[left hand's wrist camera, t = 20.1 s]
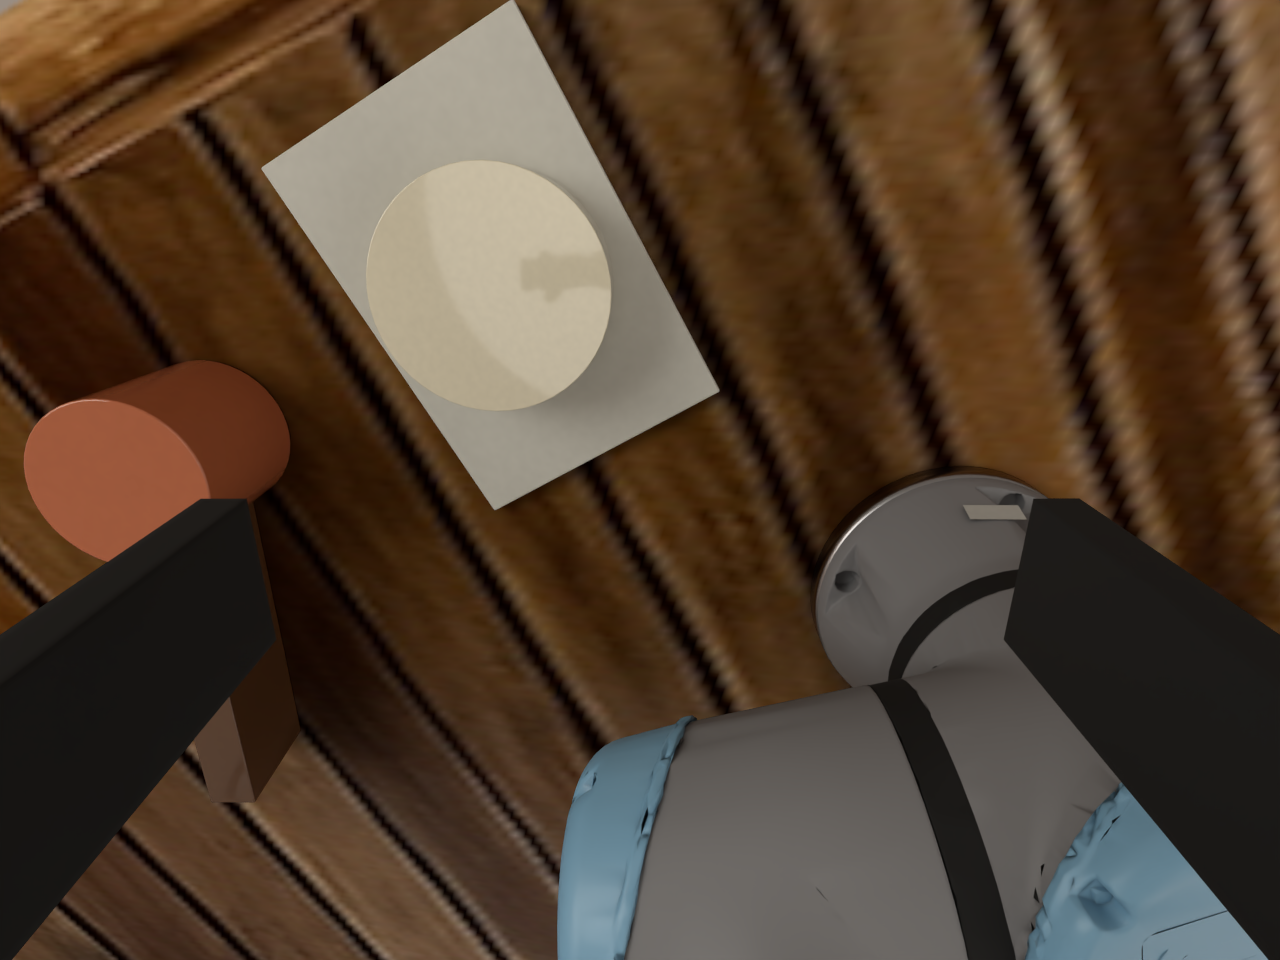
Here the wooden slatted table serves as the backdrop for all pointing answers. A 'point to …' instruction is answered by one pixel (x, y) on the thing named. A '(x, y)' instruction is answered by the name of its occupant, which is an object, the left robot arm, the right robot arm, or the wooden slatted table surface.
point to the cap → (490, 284)
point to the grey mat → (528, 137)
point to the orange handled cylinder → (159, 490)
